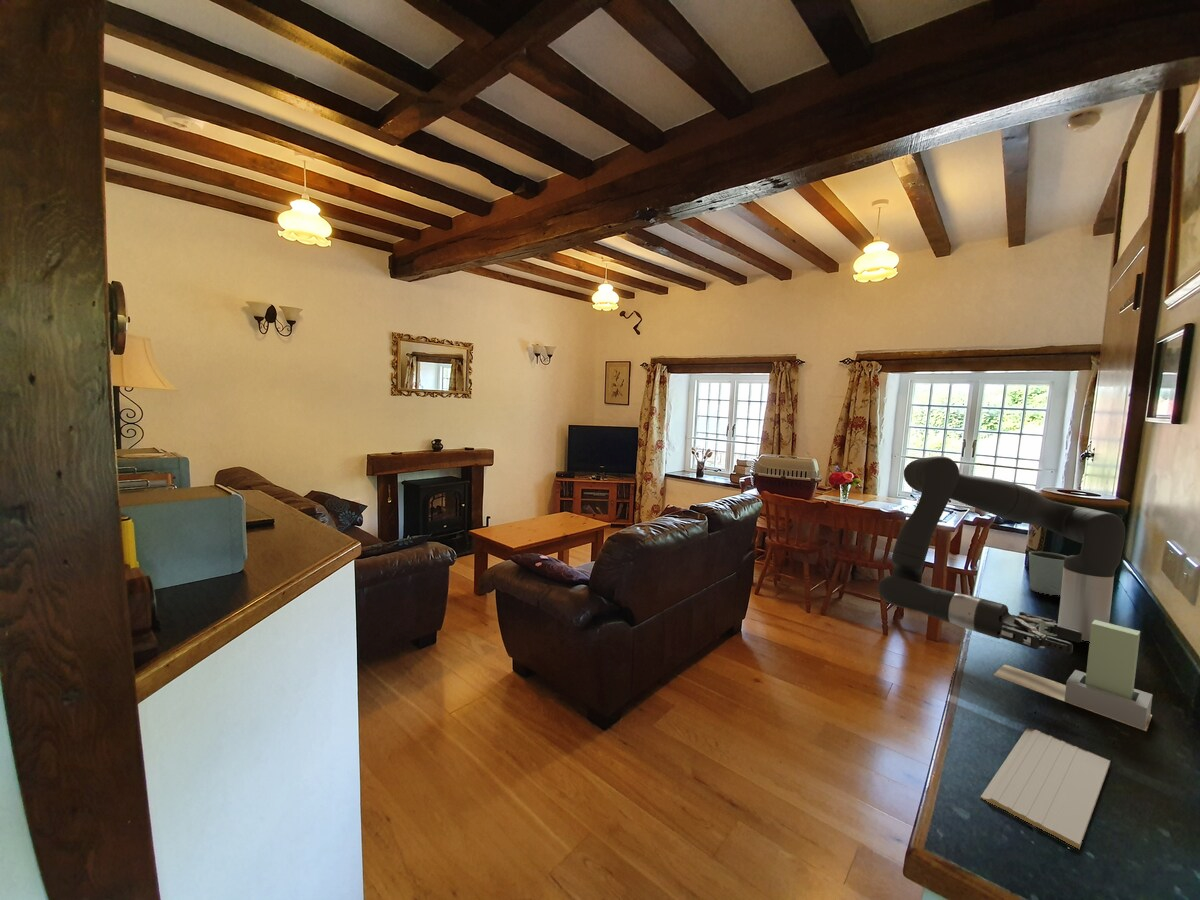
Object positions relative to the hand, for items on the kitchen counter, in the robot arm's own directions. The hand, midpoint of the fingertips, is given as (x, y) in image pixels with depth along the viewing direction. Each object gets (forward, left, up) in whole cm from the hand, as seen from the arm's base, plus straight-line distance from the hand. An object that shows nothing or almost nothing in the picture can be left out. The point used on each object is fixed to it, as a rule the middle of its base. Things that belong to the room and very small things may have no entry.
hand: (1077, 643), depth 96 cm
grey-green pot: (-78, -19, -12) cm, 81 cm away
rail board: (0, -1, -12) cm, 12 cm away
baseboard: (+30, +2, -13) cm, 33 cm away
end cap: (0, +5, -11) cm, 12 cm away
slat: (0, +5, -11) cm, 12 cm away
